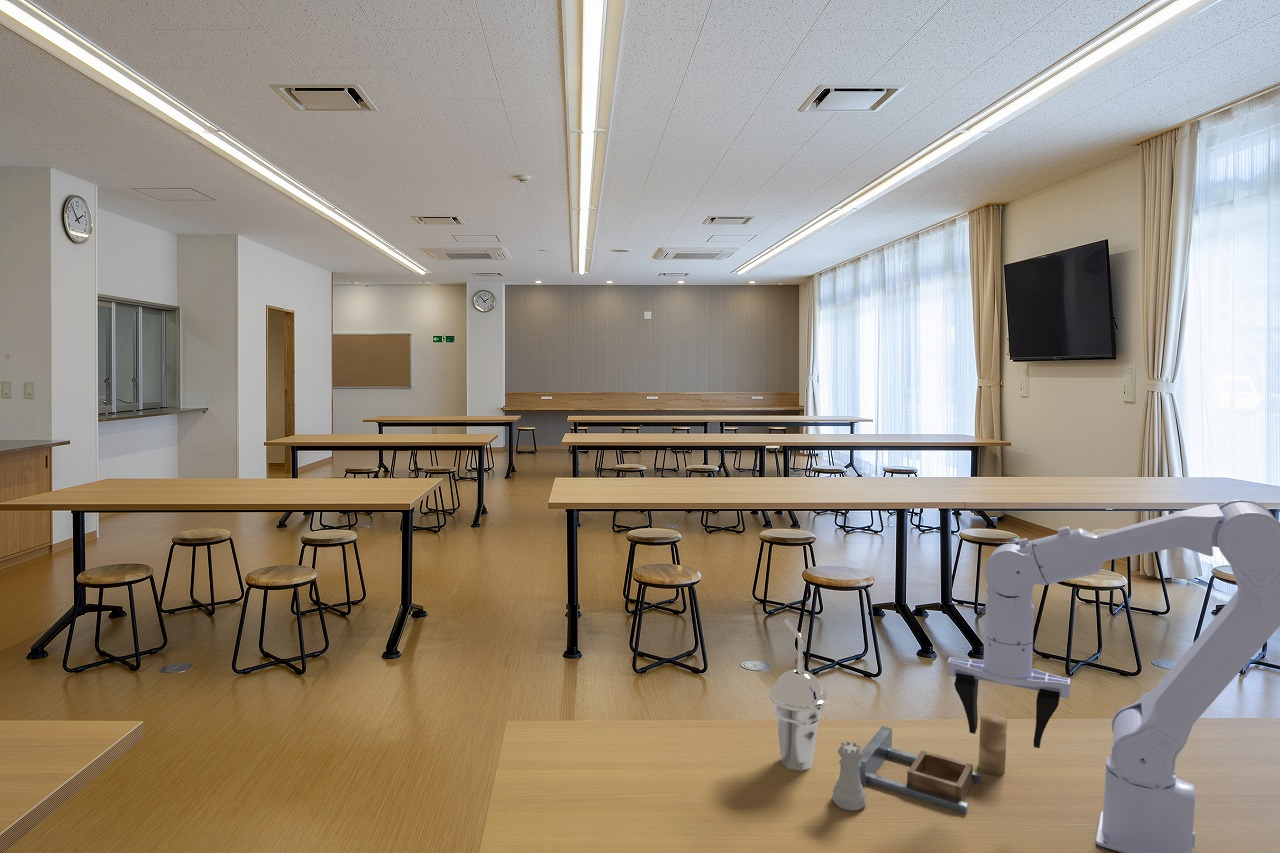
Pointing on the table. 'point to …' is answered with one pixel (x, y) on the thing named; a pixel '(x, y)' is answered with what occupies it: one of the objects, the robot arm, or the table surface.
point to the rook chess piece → (849, 779)
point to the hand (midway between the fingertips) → (1004, 737)
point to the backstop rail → (870, 764)
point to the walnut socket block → (940, 775)
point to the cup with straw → (797, 712)
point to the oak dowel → (992, 744)
